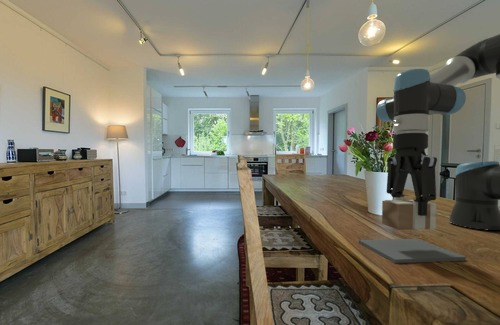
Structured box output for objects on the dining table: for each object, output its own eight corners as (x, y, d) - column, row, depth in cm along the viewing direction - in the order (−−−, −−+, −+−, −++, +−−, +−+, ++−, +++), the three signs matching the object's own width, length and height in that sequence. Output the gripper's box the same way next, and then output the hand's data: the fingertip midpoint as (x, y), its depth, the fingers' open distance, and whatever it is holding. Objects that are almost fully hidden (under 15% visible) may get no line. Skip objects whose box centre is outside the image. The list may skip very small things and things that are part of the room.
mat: (417, 241, 73) (417, 238, 73) (465, 260, 59) (465, 256, 59) (358, 243, 70) (358, 240, 70) (394, 263, 56) (395, 259, 56)
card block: (381, 223, 67) (382, 199, 67) (416, 223, 68) (416, 199, 68) (398, 230, 61) (399, 203, 61) (435, 229, 62) (436, 203, 62)
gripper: (373, 136, 73) (371, 217, 73) (428, 128, 54) (426, 236, 54) (396, 137, 74) (394, 216, 74) (459, 129, 55) (456, 235, 56)
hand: (408, 225), depth 64 cm, fingers closed on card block, 6 cm apart
